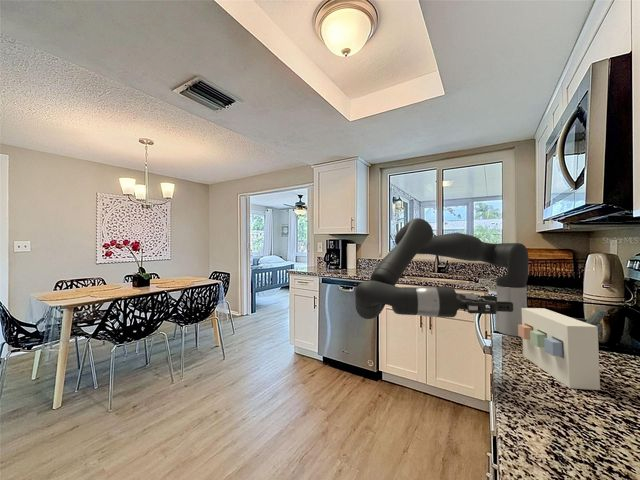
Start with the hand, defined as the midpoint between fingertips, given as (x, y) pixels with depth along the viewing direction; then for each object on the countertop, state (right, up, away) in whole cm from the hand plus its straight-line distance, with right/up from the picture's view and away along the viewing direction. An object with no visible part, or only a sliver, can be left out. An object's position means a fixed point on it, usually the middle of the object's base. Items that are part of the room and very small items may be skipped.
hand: (503, 303), depth 69 cm
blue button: (+11, -12, -2) cm, 16 cm away
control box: (+16, -18, +3) cm, 24 cm away
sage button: (+12, -12, +4) cm, 17 cm away
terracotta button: (+13, -12, +10) cm, 20 cm away
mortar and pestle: (+42, -19, +23) cm, 52 cm away
